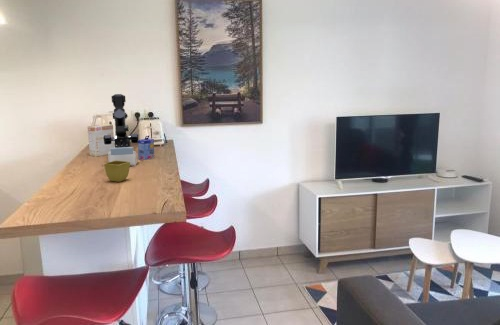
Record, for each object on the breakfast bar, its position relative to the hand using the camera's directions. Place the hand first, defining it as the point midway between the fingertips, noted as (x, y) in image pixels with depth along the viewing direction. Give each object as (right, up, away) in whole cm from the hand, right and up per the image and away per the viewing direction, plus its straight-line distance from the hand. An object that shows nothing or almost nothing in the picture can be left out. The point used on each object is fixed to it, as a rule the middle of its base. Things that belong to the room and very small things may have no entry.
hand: (122, 151), depth 229 cm
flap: (-1, -2, +3) cm, 3 cm away
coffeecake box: (-26, -1, +43) cm, 50 cm away
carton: (-3, -7, +10) cm, 13 cm away
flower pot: (+8, -15, -31) cm, 35 cm away
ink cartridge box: (+7, -4, +27) cm, 28 cm away
